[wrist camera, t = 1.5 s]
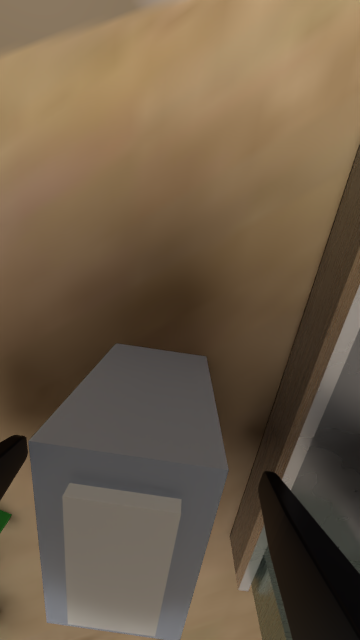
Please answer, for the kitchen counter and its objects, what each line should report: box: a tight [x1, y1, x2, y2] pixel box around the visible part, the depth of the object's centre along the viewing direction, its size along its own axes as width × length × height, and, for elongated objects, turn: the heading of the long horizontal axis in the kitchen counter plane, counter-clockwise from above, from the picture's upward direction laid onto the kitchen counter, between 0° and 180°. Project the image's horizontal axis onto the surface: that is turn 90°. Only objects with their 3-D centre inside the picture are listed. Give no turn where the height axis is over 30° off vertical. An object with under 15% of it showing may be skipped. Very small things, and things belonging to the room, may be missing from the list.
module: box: [29, 343, 229, 640], centre depth 7 cm, size 4×7×5 cm, turn 172°
